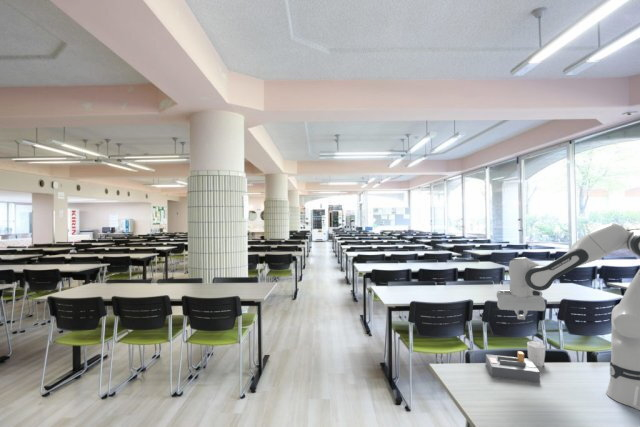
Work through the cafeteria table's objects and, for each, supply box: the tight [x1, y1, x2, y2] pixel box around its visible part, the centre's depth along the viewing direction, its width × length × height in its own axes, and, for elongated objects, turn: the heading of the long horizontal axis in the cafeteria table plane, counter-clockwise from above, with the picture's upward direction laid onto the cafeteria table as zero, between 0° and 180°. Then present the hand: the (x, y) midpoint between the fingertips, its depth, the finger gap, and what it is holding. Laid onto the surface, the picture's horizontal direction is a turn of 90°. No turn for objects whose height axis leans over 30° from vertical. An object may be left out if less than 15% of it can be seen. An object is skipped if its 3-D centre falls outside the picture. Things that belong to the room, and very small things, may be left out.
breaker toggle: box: [517, 350, 525, 362], centre depth 161 cm, size 2×3×5 cm, turn 164°
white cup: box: [526, 341, 546, 367], centre depth 172 cm, size 8×8×10 cm
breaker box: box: [485, 353, 541, 384], centre depth 162 cm, size 20×14×7 cm
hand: (521, 319), depth 162 cm, fingers closed
